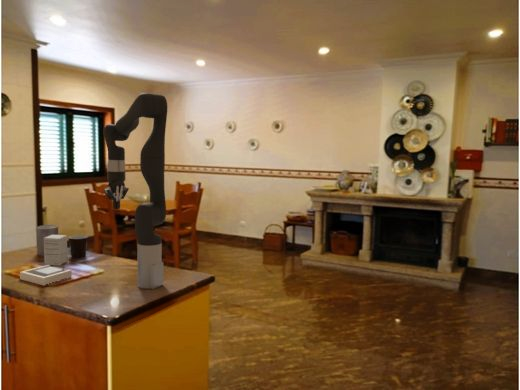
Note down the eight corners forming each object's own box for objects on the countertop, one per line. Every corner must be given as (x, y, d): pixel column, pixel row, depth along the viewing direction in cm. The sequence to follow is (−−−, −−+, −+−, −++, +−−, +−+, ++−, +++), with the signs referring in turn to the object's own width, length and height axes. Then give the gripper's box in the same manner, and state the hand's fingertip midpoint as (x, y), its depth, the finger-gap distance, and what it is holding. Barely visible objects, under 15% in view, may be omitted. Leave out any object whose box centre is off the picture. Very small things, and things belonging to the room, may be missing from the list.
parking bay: (71, 277, 172) (71, 270, 171) (43, 285, 160) (43, 278, 160) (48, 271, 178) (48, 264, 178) (20, 279, 167) (19, 272, 167)
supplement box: (52, 260, 195) (52, 234, 194) (68, 261, 195) (67, 234, 193) (43, 264, 188) (43, 237, 186) (59, 265, 187) (59, 238, 186)
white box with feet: (66, 276, 173) (65, 269, 172) (48, 281, 166) (48, 274, 165) (51, 272, 177) (51, 265, 176) (34, 277, 170) (33, 270, 169)
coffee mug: (83, 259, 198) (83, 239, 197) (65, 258, 198) (65, 238, 197) (93, 253, 210) (93, 234, 209) (76, 252, 210) (76, 233, 209)
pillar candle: (48, 250, 213) (47, 221, 212) (63, 252, 210) (62, 223, 209) (32, 254, 204) (31, 224, 202) (48, 256, 201) (47, 226, 199)
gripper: (111, 171, 174) (111, 211, 176) (133, 170, 186) (133, 208, 188) (98, 170, 177) (98, 210, 179) (121, 169, 189) (121, 206, 191)
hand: (116, 209), depth 183 cm, fingers closed
